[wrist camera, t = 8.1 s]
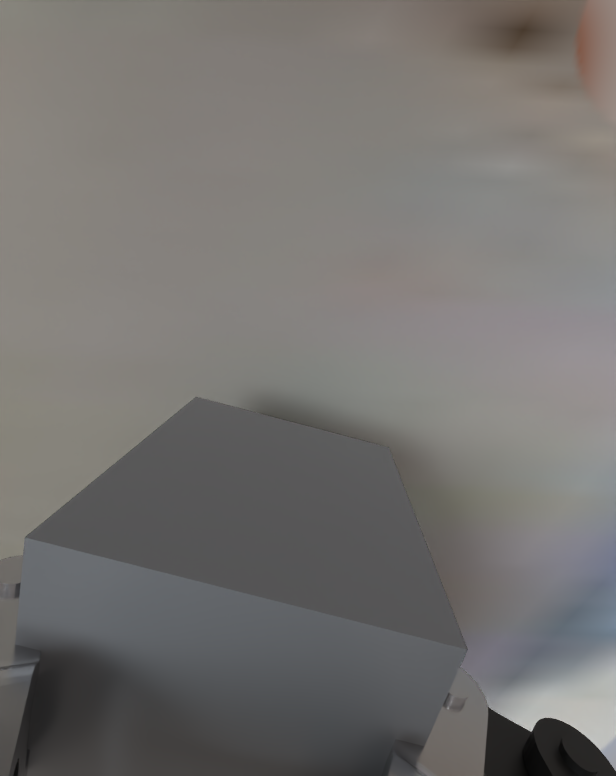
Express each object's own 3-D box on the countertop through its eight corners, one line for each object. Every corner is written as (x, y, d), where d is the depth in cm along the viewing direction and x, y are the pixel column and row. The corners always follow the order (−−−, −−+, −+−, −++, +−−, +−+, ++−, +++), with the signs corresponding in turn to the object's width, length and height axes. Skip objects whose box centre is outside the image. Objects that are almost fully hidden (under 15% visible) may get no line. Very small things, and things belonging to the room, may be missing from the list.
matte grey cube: (196, 396, 12) (25, 536, 5) (388, 447, 12) (468, 649, 5) (163, 562, 13) (-3, 841, 7) (335, 606, 14) (344, 925, 7)
